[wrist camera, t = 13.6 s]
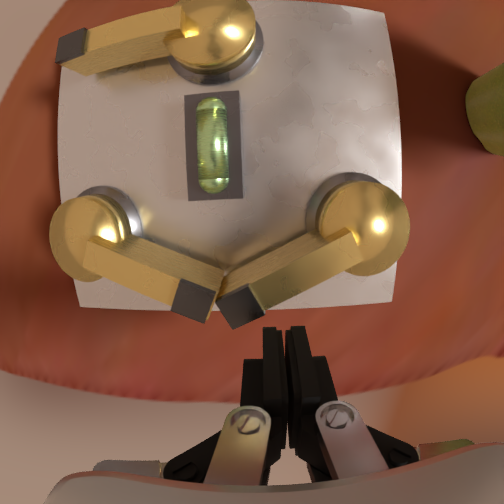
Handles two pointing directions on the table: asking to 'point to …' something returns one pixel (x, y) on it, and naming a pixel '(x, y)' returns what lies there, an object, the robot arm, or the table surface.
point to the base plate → (239, 145)
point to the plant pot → (488, 109)
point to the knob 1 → (129, 257)
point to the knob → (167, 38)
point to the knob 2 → (322, 251)
